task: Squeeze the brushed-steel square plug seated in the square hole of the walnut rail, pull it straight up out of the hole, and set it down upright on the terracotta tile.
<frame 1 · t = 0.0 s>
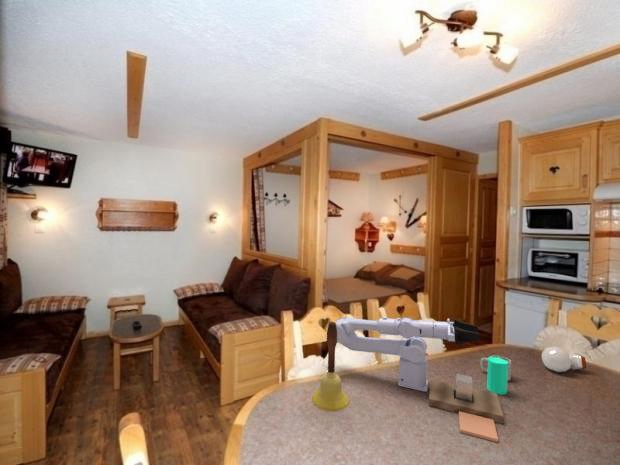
hand: (478, 333, 100), 22 cm above the table, tool horizontal, fingers open, 7 cm apart
mug: (495, 375, 117), on the table
handbell: (330, 400, 99), on the table
steel plug: (463, 403, 98), resting in walnut rail
candle: (496, 390, 106), on the table
terracotta tile: (477, 427, 86), on the table
walnut rail: (463, 402, 98), on the table
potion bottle: (561, 370, 122), on the table
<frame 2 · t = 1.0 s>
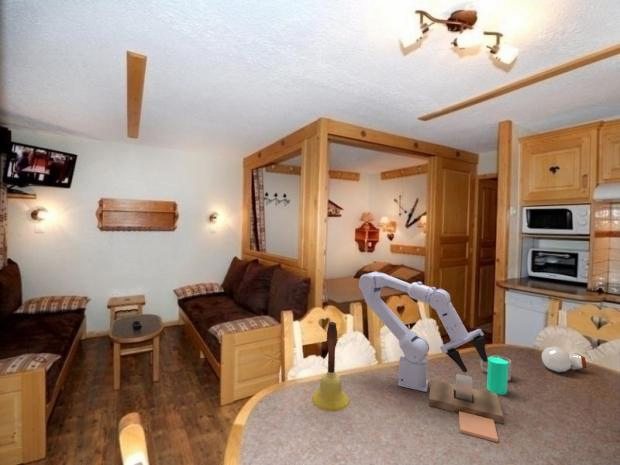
hand: (475, 366, 97), 12 cm above the table, tool tilted 30°, fingers open, 7 cm apart
nothing on the table moved.
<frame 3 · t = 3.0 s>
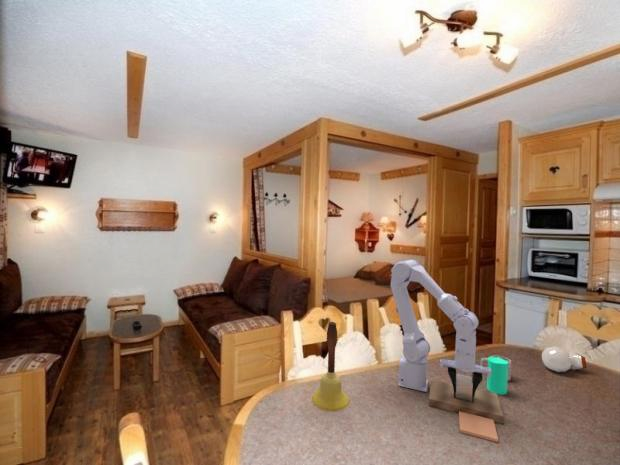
hand: (463, 393, 98), 3 cm above the table, tool pointing down, fingers closed on steel plug, 4 cm apart
steel plug: (463, 402, 98), resting in walnut rail, touching gripper
everything else where it was.
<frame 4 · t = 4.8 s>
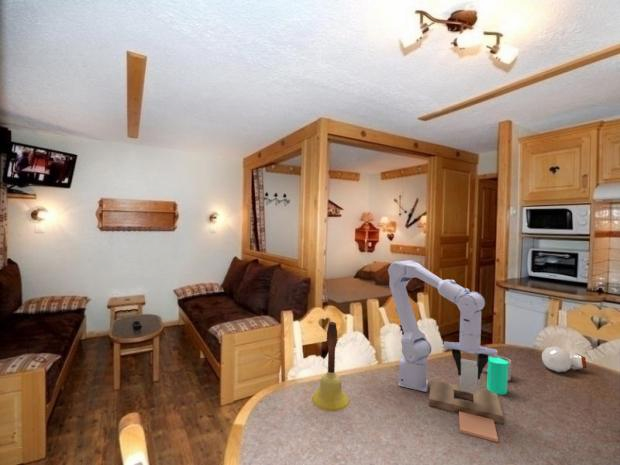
hand: (468, 375, 94), 10 cm above the table, tool pointing down, fingers closed on steel plug, 4 cm apart
steel plug: (468, 388, 95), point 7 cm above the table, touching gripper
everything else where it was.
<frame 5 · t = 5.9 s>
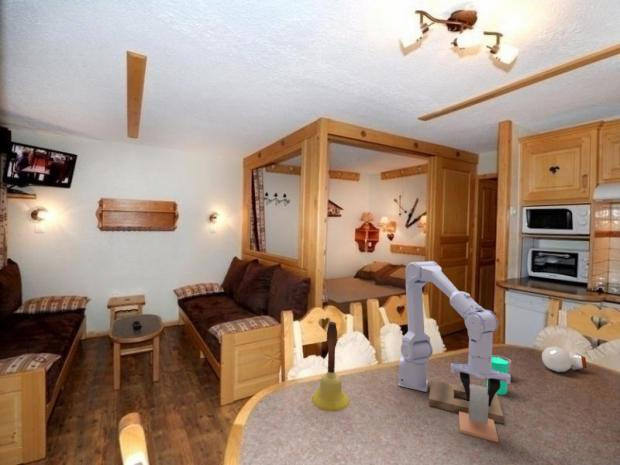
hand: (478, 402, 86), 7 cm above the table, tool pointing down, fingers closed on steel plug, 4 cm apart
steel plug: (477, 417, 87), point 3 cm above the table, touching gripper
everything else where it was.
when the fingers open (5 cm above the table, at t = 6.7 s): steel plug stays where it is, resting on terracotta tile.
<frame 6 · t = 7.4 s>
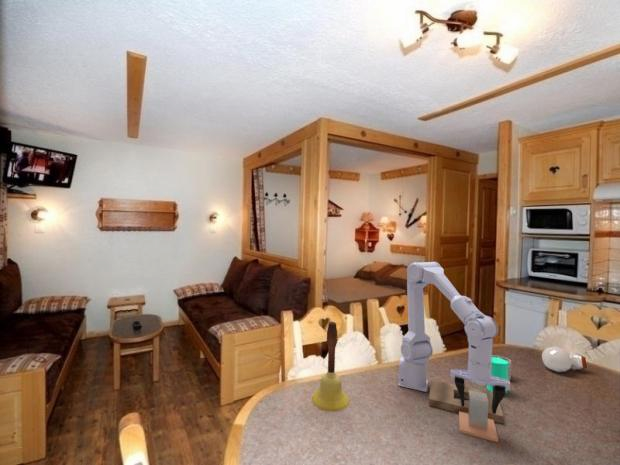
hand: (477, 408, 86), 6 cm above the table, tool pointing down, fingers open, 7 cm apart
steel plug: (477, 423, 87), point 1 cm above the table, touching terracotta tile
everything else where it was.
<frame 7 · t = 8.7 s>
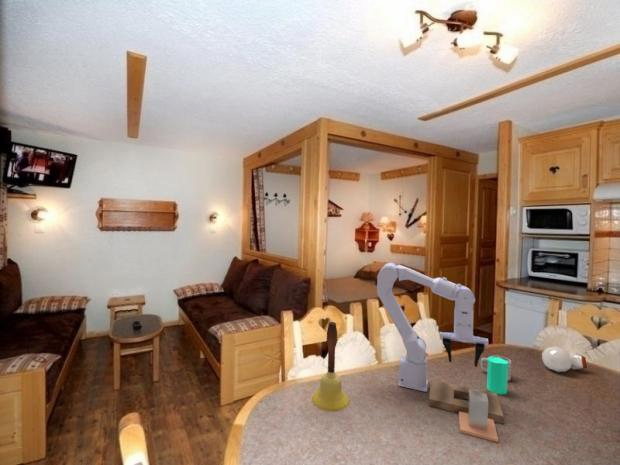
hand: (462, 363, 103), 10 cm above the table, tool pointing down, fingers open, 7 cm apart
nothing on the table moved.
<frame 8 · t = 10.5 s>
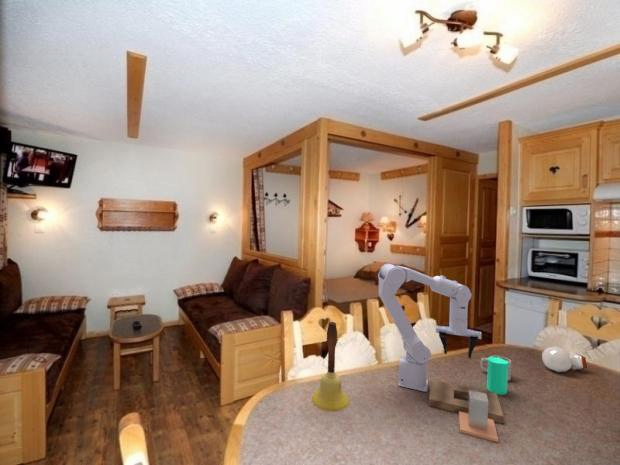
hand: (457, 355, 110), 10 cm above the table, tool pointing down, fingers open, 7 cm apart
nothing on the table moved.
at the end: steel plug 0.4 cm off-centre on the terracotta tile, point 0.8 cm above the terracotta tile's base; steel plug tilted 0°; the gripper is holding nothing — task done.
